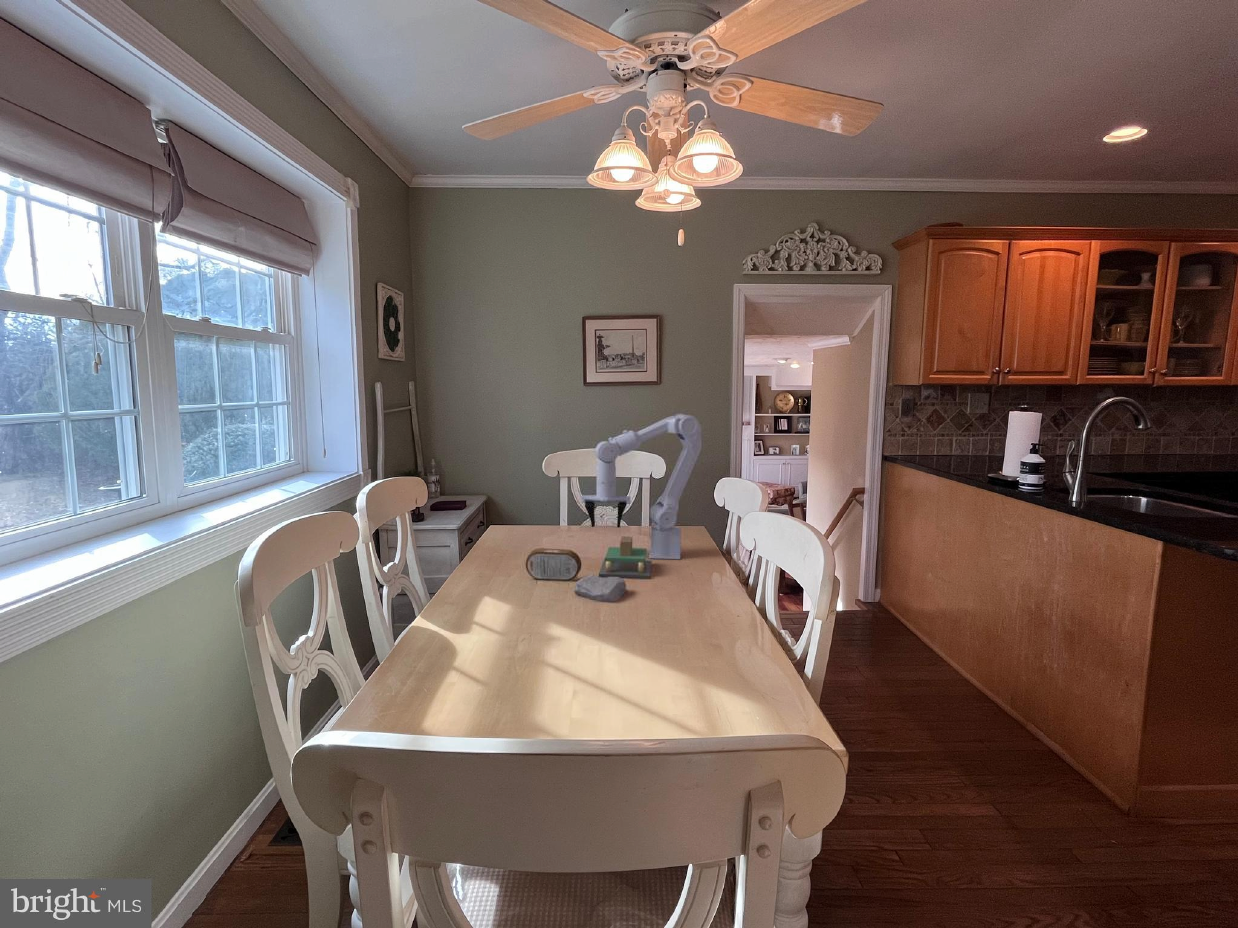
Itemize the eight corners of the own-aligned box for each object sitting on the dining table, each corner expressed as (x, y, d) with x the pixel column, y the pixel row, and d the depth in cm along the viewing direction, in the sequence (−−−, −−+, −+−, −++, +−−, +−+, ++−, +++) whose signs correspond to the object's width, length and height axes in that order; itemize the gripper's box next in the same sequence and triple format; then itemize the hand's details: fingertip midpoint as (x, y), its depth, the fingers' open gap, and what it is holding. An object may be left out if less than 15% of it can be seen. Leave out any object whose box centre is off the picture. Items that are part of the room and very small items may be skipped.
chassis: (651, 563, 180) (651, 550, 180) (649, 579, 166) (649, 564, 166) (604, 562, 181) (604, 549, 181) (598, 577, 168) (598, 563, 167)
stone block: (613, 611, 148) (629, 590, 157) (610, 593, 147) (627, 574, 156) (570, 605, 153) (587, 585, 162) (567, 588, 152) (585, 569, 160)
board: (646, 551, 179) (646, 534, 178) (644, 562, 168) (645, 544, 167) (609, 550, 180) (609, 533, 179) (604, 561, 169) (605, 543, 168)
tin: (581, 578, 166) (581, 548, 165) (579, 582, 163) (579, 552, 162) (527, 576, 168) (527, 546, 167) (524, 580, 165) (524, 550, 164)
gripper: (579, 483, 179) (580, 528, 181) (629, 484, 177) (629, 530, 179) (583, 479, 186) (583, 523, 188) (631, 480, 184) (630, 524, 186)
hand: (605, 526), depth 184 cm, fingers open, 7 cm apart
